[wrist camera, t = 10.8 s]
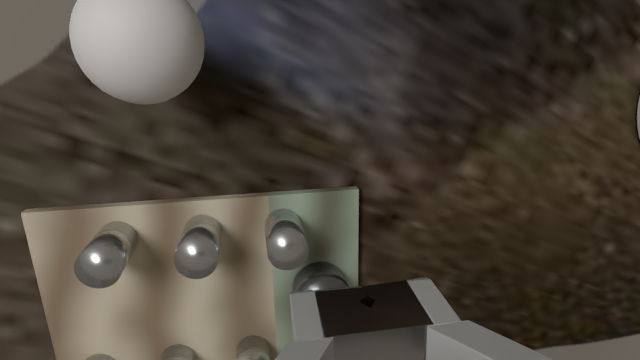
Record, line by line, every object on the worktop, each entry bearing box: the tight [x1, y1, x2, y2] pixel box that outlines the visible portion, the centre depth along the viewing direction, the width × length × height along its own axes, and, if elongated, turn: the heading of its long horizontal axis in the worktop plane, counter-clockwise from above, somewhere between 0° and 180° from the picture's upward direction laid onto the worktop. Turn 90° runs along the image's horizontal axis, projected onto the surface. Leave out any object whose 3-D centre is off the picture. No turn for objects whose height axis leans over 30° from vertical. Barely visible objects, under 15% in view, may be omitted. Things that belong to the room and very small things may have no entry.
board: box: [21, 186, 359, 360], centre depth 34 cm, size 24×16×1 cm, turn 91°
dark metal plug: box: [292, 261, 349, 292], centre depth 34 cm, size 4×4×3 cm
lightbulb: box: [69, 0, 205, 104], centre depth 23 cm, size 6×6×11 cm
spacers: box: [74, 208, 309, 360], centre depth 31 cm, size 18×14×4 cm
